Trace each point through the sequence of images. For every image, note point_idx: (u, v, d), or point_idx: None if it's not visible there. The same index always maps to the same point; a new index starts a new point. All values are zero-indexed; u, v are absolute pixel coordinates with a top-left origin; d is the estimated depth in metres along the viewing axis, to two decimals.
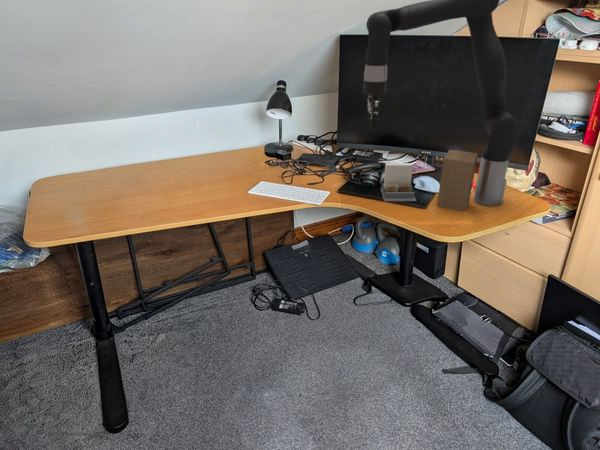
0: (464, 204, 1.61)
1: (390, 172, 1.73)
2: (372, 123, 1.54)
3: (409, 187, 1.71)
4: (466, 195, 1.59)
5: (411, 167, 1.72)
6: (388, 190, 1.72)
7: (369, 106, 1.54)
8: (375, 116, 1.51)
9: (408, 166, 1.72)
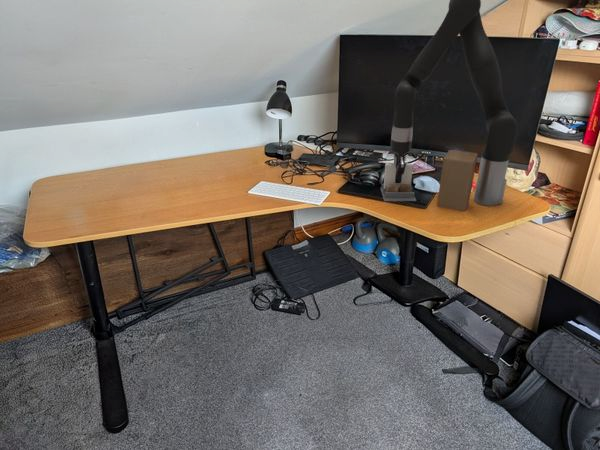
0: (464, 204, 1.61)
1: (390, 172, 1.73)
2: (397, 177, 1.73)
3: (409, 187, 1.71)
4: (466, 195, 1.59)
5: (411, 167, 1.72)
6: (388, 190, 1.72)
7: (395, 162, 1.71)
8: (400, 173, 1.70)
9: (408, 166, 1.72)
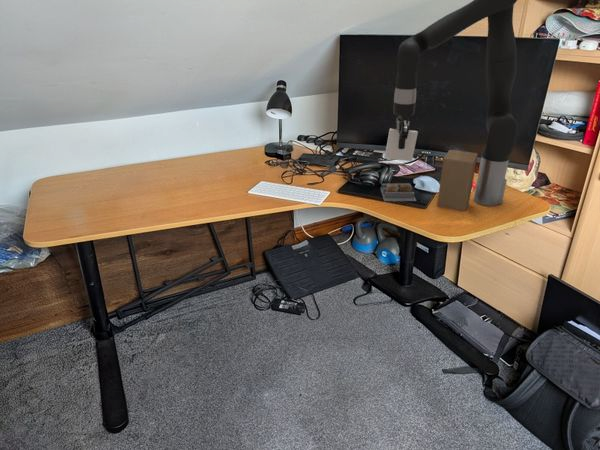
0: (464, 204, 1.61)
1: (393, 138, 1.67)
2: (400, 143, 1.66)
3: (409, 187, 1.71)
4: (466, 195, 1.59)
5: (416, 134, 1.66)
6: (388, 190, 1.72)
7: (398, 126, 1.64)
8: (403, 137, 1.63)
9: (413, 133, 1.65)
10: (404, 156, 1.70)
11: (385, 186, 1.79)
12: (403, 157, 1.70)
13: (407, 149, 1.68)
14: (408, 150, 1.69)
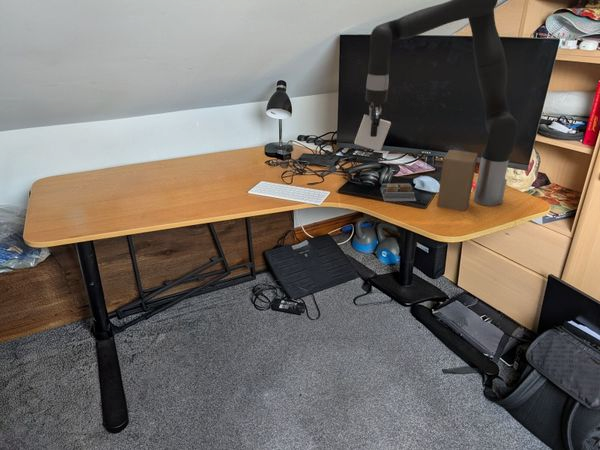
0: (464, 204, 1.61)
1: (366, 125, 1.65)
2: (372, 130, 1.65)
3: (409, 187, 1.71)
4: (466, 195, 1.59)
5: (389, 125, 1.64)
6: (388, 190, 1.72)
7: (370, 113, 1.62)
8: (375, 124, 1.61)
9: (386, 123, 1.64)
10: (373, 145, 1.68)
11: (385, 186, 1.79)
12: (372, 146, 1.68)
13: (378, 138, 1.67)
14: (378, 140, 1.67)
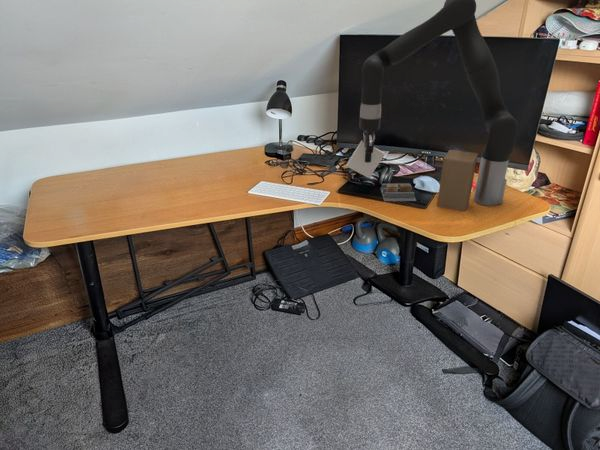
0: (464, 204, 1.61)
1: (361, 151, 1.69)
2: (366, 156, 1.69)
3: (409, 187, 1.71)
4: (466, 195, 1.59)
5: (382, 155, 1.70)
6: (388, 190, 1.72)
7: (364, 140, 1.67)
8: (369, 151, 1.66)
9: (380, 153, 1.69)
10: (364, 171, 1.73)
11: (385, 186, 1.79)
12: (363, 171, 1.73)
13: (369, 166, 1.72)
14: (370, 167, 1.72)
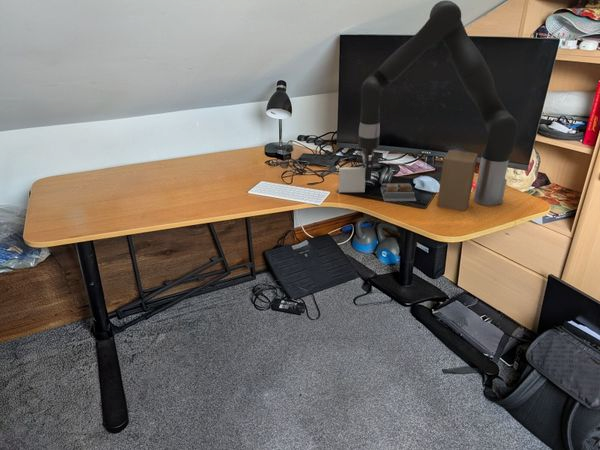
0: (464, 204, 1.61)
1: (344, 176, 1.74)
2: (366, 174, 1.70)
3: (409, 187, 1.71)
4: (466, 195, 1.59)
5: (364, 171, 1.73)
6: (388, 190, 1.72)
7: (363, 158, 1.69)
8: (369, 169, 1.66)
9: (361, 170, 1.73)
10: None
11: (385, 186, 1.79)
12: None
13: (358, 185, 1.76)
14: (359, 186, 1.76)
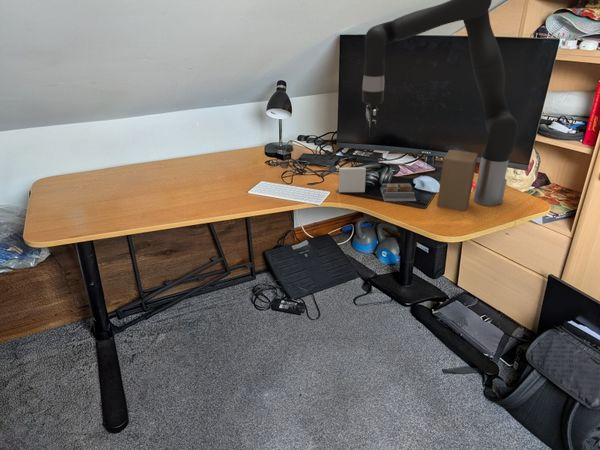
0: (464, 204, 1.61)
1: (344, 176, 1.74)
2: (370, 130, 1.62)
3: (409, 187, 1.71)
4: (466, 195, 1.59)
5: (364, 171, 1.73)
6: (388, 190, 1.72)
7: (367, 114, 1.62)
8: (373, 124, 1.59)
9: (361, 170, 1.73)
10: None
11: (385, 186, 1.79)
12: None
13: (358, 185, 1.76)
14: (359, 186, 1.76)
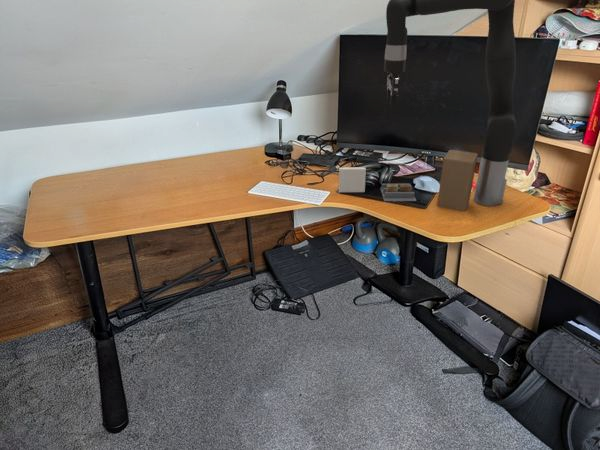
0: (464, 204, 1.61)
1: (344, 176, 1.74)
2: (392, 99, 1.66)
3: (409, 187, 1.71)
4: (466, 195, 1.59)
5: (364, 171, 1.73)
6: (388, 190, 1.72)
7: (389, 84, 1.66)
8: (395, 92, 1.63)
9: (361, 170, 1.73)
10: None
11: (385, 186, 1.79)
12: None
13: (358, 185, 1.76)
14: (359, 186, 1.76)
